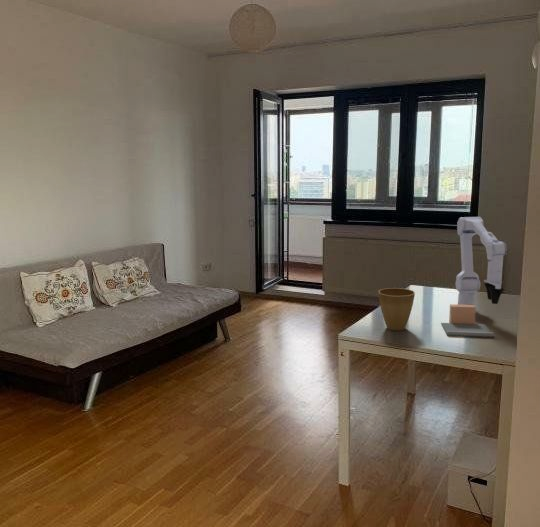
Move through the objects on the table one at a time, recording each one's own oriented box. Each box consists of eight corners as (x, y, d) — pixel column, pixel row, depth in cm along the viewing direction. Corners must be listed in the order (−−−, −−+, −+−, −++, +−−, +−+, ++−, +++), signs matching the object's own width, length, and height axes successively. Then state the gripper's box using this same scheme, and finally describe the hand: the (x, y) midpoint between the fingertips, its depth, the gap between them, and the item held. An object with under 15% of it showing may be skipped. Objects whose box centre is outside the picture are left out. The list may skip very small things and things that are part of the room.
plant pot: (417, 325, 233) (419, 289, 230) (407, 335, 220) (408, 297, 217) (384, 321, 240) (385, 286, 237) (372, 330, 228) (373, 293, 225)
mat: (441, 324, 235) (441, 320, 234) (484, 325, 232) (484, 321, 232) (447, 335, 219) (447, 331, 219) (493, 337, 217) (494, 333, 216)
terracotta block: (449, 321, 238) (449, 304, 237) (472, 322, 237) (473, 304, 235) (450, 324, 235) (451, 306, 233) (474, 325, 233) (475, 307, 232)
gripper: (481, 266, 236) (479, 296, 239) (489, 273, 222) (486, 305, 224) (498, 267, 235) (495, 297, 237) (507, 274, 221) (504, 306, 223)
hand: (492, 301), depth 231 cm, fingers open, 6 cm apart
